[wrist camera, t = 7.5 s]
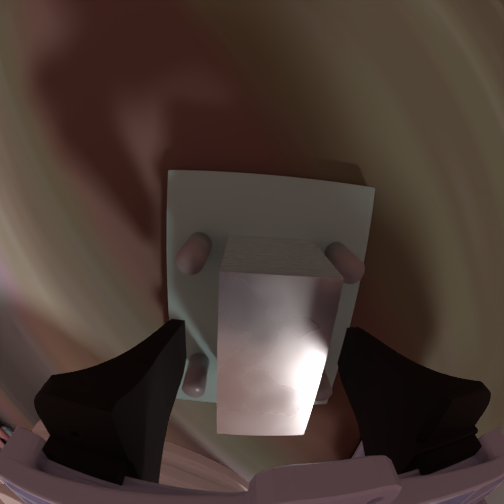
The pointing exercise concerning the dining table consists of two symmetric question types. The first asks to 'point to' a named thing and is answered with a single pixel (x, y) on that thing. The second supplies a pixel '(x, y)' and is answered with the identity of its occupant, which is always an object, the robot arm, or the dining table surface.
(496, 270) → the dining table surface
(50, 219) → the dining table surface
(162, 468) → the plate stack
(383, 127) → the dining table surface
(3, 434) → the decorative flower
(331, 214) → the grey plate with pegs
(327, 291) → the pale pink block
